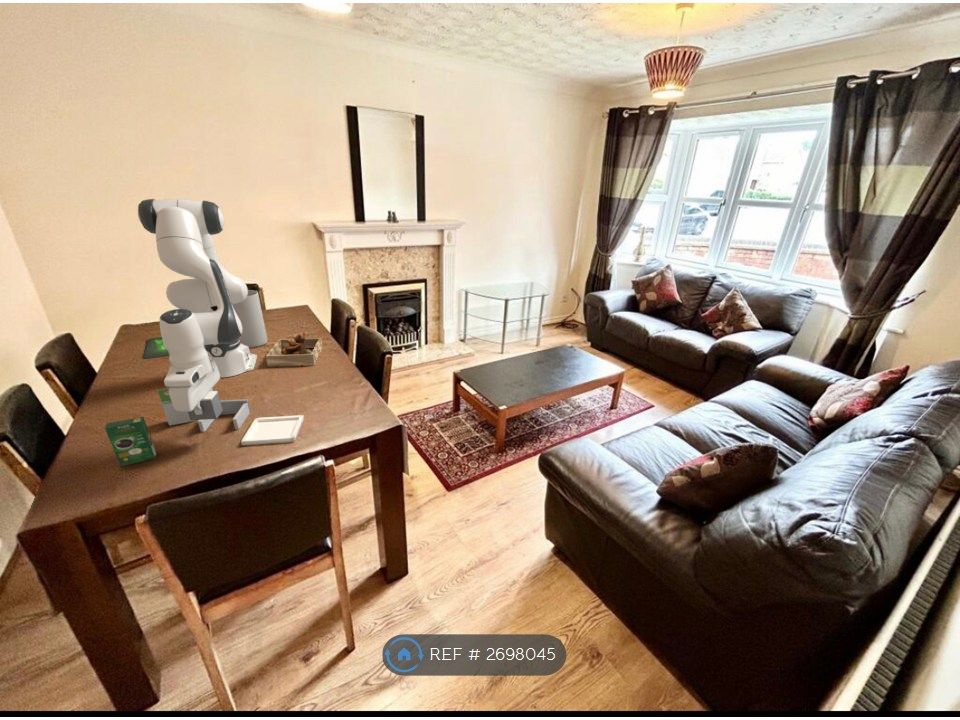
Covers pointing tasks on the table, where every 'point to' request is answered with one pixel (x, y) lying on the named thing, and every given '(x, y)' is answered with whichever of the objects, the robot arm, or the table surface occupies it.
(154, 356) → the mouse mat
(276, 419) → the tray
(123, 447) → the coffee box
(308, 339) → the crate
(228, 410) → the bay
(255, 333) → the cylinder vase
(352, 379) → the table surface
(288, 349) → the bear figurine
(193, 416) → the upright white block
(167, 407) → the ink box
